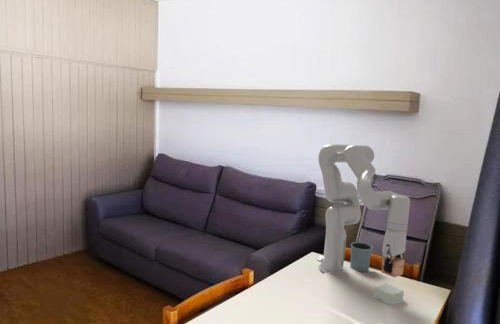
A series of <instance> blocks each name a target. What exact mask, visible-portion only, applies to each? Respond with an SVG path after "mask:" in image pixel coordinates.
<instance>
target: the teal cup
mask: <svg viewBox="0 0 500 324" xmlns="http://www.w3.org/2000/svg"><path fill="white" fill-rule="evenodd" d="M373 248H374V247H373V245H371V244H369V243H366V242H360V241H357V242H356V241H354V242H352V243H350V254H351V255H350V262H349V263H350V266H349V267H350V269H352V270H353V271H357V272H359V273H362V274H364V273H368V272H369V268H370V263H371V257H372V253H373Z"/></svg>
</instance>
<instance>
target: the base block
mask: <svg viewBox="0 0 500 324" xmlns="http://www.w3.org/2000/svg"><path fill="white" fill-rule="evenodd" d="M373 296H374V297H375V298H374V299H376V298H378V299H380V300H382V301H384V302H383V303H385V302H387V303H389V304H391V305H393V304H395V303H397V302H399V301H401V300H404V289H402V288H401V289H400V288H399V287H396V286H394V285H393V284H389V283H387V282H385V283H384V284H383V283H382V284H380V285H378V286H376V287H375V286H374V293H373ZM378 299H377V300H378ZM380 300H379V301H380ZM382 301H381V302H382ZM387 303H386V304H387ZM389 304H388V305H389ZM391 305H390V306H391Z"/></svg>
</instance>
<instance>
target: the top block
mask: <svg viewBox="0 0 500 324" xmlns="http://www.w3.org/2000/svg"><path fill="white" fill-rule="evenodd" d="M388 257H389V259H390V256H388ZM381 260H382V261H381V270H380V272H381V273H382V274H385V275H388V276H390V277H393V278H397V277H400V276H402V275H403V274H404V268H405V267H404V266H405V259H404V258H403V259H401V258H398V257H395V256H394V257H393V260H392V263H393V266H392V273H388V272H385V271H384V263H385V262H384V258H383V257H382V259H381Z"/></svg>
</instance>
